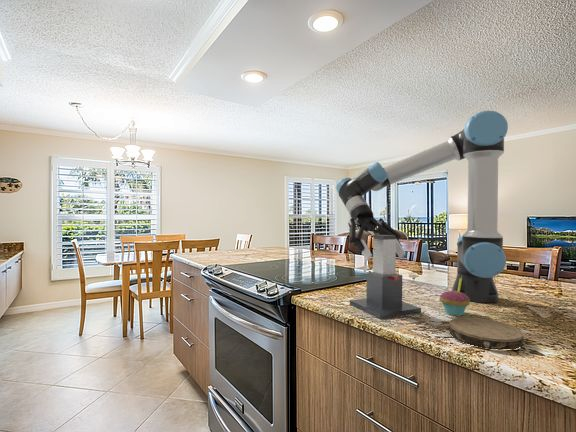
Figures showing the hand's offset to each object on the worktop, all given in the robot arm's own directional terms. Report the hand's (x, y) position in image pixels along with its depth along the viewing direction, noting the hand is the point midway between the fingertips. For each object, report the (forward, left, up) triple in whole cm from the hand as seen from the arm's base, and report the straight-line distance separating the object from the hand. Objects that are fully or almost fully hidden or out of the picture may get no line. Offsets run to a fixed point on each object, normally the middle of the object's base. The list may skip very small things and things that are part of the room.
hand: (386, 257), depth 104 cm
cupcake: (-20, -4, -17) cm, 27 cm away
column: (+1, -1, -15) cm, 15 cm away
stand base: (+1, -1, -17) cm, 17 cm away
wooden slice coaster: (-25, +15, -18) cm, 34 cm away
